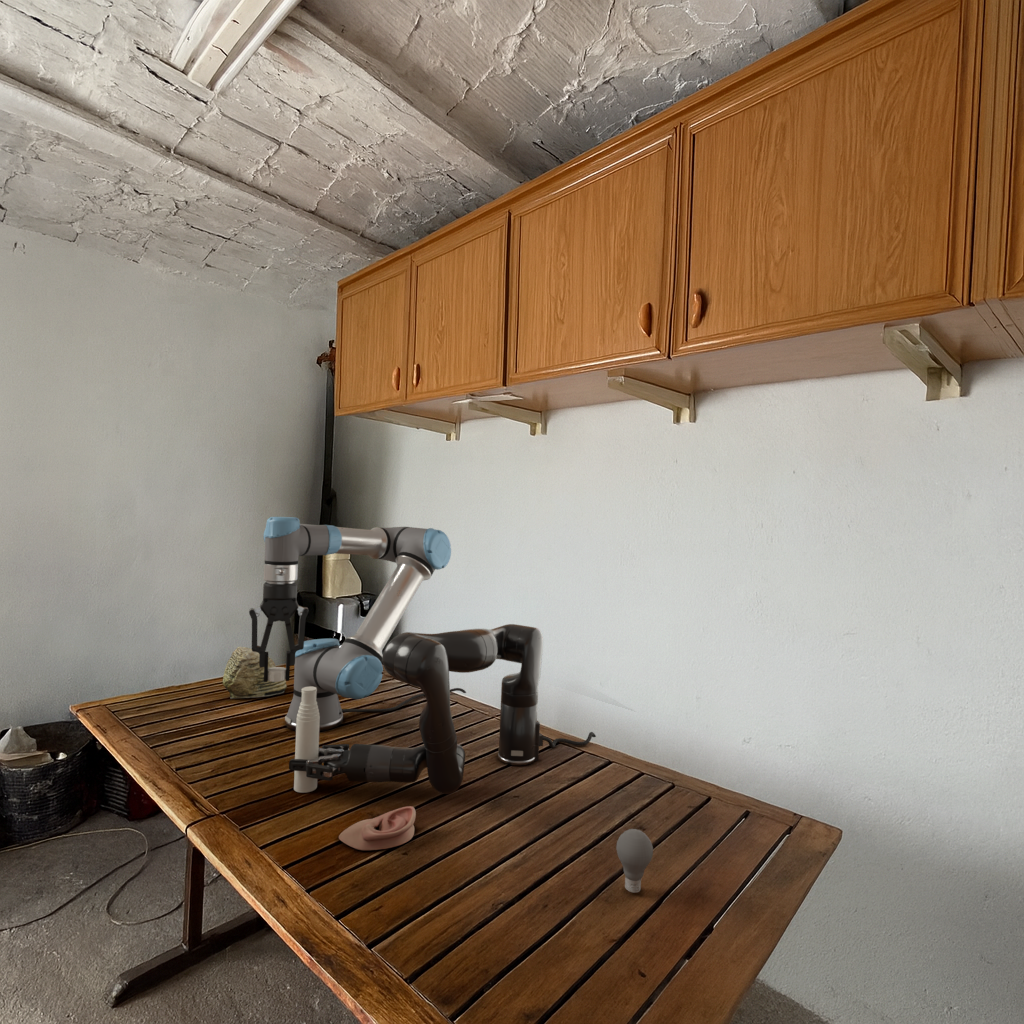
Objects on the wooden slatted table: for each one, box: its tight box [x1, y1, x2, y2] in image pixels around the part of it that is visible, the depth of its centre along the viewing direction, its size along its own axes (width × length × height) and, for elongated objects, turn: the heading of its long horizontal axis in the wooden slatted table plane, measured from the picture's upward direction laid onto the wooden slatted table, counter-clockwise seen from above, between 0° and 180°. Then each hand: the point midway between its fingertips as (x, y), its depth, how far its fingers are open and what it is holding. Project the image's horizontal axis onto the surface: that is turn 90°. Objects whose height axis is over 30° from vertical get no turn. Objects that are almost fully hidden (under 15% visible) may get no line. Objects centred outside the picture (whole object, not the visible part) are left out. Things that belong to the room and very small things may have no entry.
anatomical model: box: [338, 805, 417, 851], centre depth 119 cm, size 13×4×12 cm
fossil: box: [222, 646, 288, 699], centre depth 198 cm, size 9×18×15 cm, turn 132°
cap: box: [267, 666, 286, 682], centre depth 151 cm, size 4×4×2 cm
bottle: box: [293, 687, 320, 794], centre depth 137 cm, size 5×5×22 cm
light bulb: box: [615, 828, 654, 894], centre depth 106 cm, size 6×6×10 cm
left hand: (276, 679), depth 151 cm, fingers closed on cap, 4 cm apart
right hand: (294, 759), depth 137 cm, fingers closed on bottle, 5 cm apart
